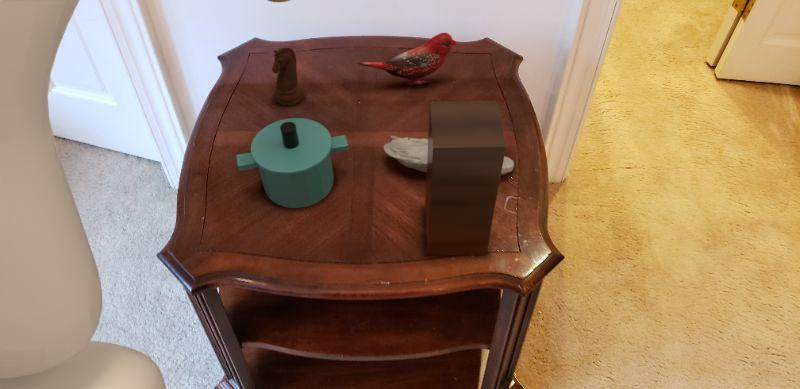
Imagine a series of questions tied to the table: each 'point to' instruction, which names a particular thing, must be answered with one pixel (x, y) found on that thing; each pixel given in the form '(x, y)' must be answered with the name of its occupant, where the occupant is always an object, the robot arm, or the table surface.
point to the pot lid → (291, 146)
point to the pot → (297, 179)
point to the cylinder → (278, 0)
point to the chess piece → (286, 77)
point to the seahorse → (421, 153)
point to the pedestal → (462, 176)
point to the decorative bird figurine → (417, 60)
